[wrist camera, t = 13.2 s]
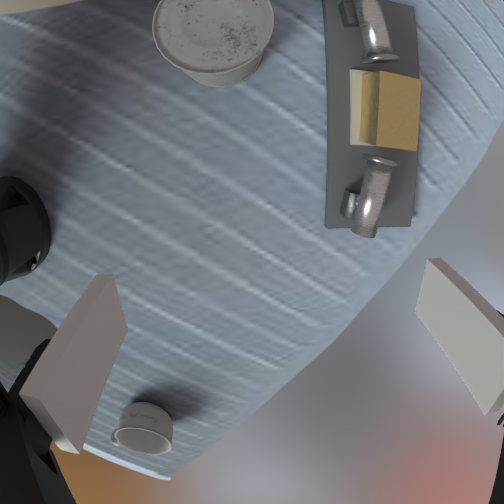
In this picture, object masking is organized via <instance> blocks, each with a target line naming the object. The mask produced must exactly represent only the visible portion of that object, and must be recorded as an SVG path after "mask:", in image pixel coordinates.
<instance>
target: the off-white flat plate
mask: <svg viewBox="0 0 504 504" xmlns="http://www.w3.org/2000/svg"><path fill="white" fill-rule="evenodd" d="M368 73H372V72H369V71H361V70H353V69H351V70H350V106H351V124H350V144H351V145H368V146H375V145H371V144H368V143H364V142H361V141H359V136H360V119H361V96H362V75H364V74H368Z"/></svg>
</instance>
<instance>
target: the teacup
mask: <svg viewBox="0 0 504 504" xmlns="http://www.w3.org/2000/svg"><path fill="white" fill-rule="evenodd" d="M172 433H173V424H172V420H171V418H170V416H169V415H168V414H167V413H166V412H165V411H164V410H163V409H162V408H160V407H159V406H157V405H155V404H152V403H149V402H137V403H133V404H130V405H128V406H126V407H125V408H124V409H123V410H122V412H121V415H120V418H119V421H118V425H117V429H116V430H115V431H114V432H113V433H112V435H111V442H112V444H114V445H115V446H122V445H123V446H124V447H126V448H128V449H130V450H132V451H135V452H138V453H142V454H148V455H161V454H165V453H168V452H169V451H170V450H171V449H172Z"/></svg>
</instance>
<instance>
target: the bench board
mask: <svg viewBox="0 0 504 504" xmlns="http://www.w3.org/2000/svg"><path fill="white" fill-rule="evenodd" d="M342 1H353V0H322V3H323V17H324V32H325V51H326V77H327V180H326V208H325V226H326V228H327V229H333V228H352V224H353V220H354V219H350V218H344V217H343V216H342V215H341V213H340V208H341V203H342V199H343V195H344V190H345V189H348V190H353V191H358V192H360V191H361V186H362V182H363V177H364V173H365V168H366V163H367V159H364V158H362V152H367V153H371V154H375V155H379V156H383V157H386V158H390V159H393V160H396V161H399V162H400V167H399V168H397V167H393V169H392V174H391V178H390V182H389V187H388V191H387V195H386V199H385V203H384V207H383V211H382V214H381V218H380V222H379V226H378V227H410V226H411V219H412V211H413V203H414V194H415V184H416V173H417V160H418V144H417V151H410V150H403V149H396V148H388V147H380V146H368V145H351V144H350V124H351V106H350V70H351V69H353V70H361V71H369V72H376V71H385V72H389V73H394V74H398V75H403V76H407V77H411V78H415V79H419V61H418V45H417V33H416V22H415V14H414V7H411V6H407V5H403V4H399V3H395V2H391V1H387V0H380V3H381V6H382V10H383V13H384V17H385V20H386V24H387V28H388V32H389V36H390V40H391V44H392V49H393V53H394V54H399V55H400V56H401V61H398V62H392V63H380V64H363V63H362V60H361V57H364V56H367V54H366V49H365V45H364V41H363V37H362V33H361V29H360V27H343V23H342V20H341V16H340V12H339V9H338V5H339V4H340V3H341V2H342ZM418 143H419V132H418Z"/></svg>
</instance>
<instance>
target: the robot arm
mask: <svg viewBox="0 0 504 504" xmlns="http://www.w3.org/2000/svg"><path fill="white" fill-rule="evenodd" d="M49 246H50V225H49V220H48V216H47V213H46V210H45V208H44V206H43V204H42V202H41V200H40V198H39V197H38V195H37V194H36V192H35V191H34V190H33V189H32V188H31V187H30V186H29V185H28V184H27V183H25V182H24V181H22V180H20V179H18V178H15V177H2V178H0V286H1V285H2V284H3V283H4V282H6V281H9V280H13V279H16V278H19V277H22V276H25V275H27V274H29V273H31V272H32V271H34V270H35V269H36V268H37V267H38V266H39V265H40V264H41V263H42V262H43V261H44V259H45V257H46V255H47V253H48V250H49ZM415 313H416V314H417V316H418V317H419V318H420V320H421V321H422V322H423V324H424V325H425V326H426V328H427V329H428V330H429V332H430V333H431V334H432V336H433V337H434V339H435V340H436V342H437V343H438V345H439V346H440V347H441V349H442V350H443V352H444V353H445V355H446V356H447V358H448V359H449V360H450V362H451V363H452V365H453V367H454V368H455V369H456V371H457V373H458V374H459V375H460V377H461V379H462V380H463V382H464V383H465V385H466V386H467V388H468V389H469V391H470V393H471V394H472V396H473V397H474V399H475V401H476V402H477V404H478V406H479V407H480V409H481V410H482V412H483V414H484V415H485V416H487V415H489V414H491V413H494V412H496V411H498V410H499V409H500V408H501V407H502V405H503V404H504V315H503V314H502V313H500V312H499V311H497V310H495V309H494V308H493V307H492V306H491V305H490V304H489V303H488V302H487V301H486V300H485V299H484V298H483V297H482V296H481V295H480V294H479V293H478V292H477V291H476V290H475V289H474V288H473V287H472V286H471V285H470V284H469V283H468V282H467V281H466V280H465V279H463V278H462V277H461V276H460V275H459V274H458V273H457V272H456V271H455V270H453V269H452V268H451V267H450V266H449V265H448V264H447V263H446V262H445V261H444V260H442V259H441V258H433V259H427V263H426V267H425V272H424V276H423V281H422V285H421V289H420V293H419V297H418V301H417V305H416V309H415ZM127 330H128V327H127V323H126V320H125V316H124V313H123V309H122V306H121V302H120V299H119V295H118V291H117V287H116V283H115V279H114V275H113V274H103V275H96V277H95V278H94V279H93V281H92V282H91V283H90V285H89V286H88V287H87V289H86V290H85V292H84V293H83V294H82V296H81V297H80V299H79V300H78V301H77V303H76V304H75V306H74V307H73V308H72V310H71V311H70V313H69V314H68V316H67V317H66V319H65V320H64V321H63V323H62V324H61V326H60V327H59V329H58V330H57V332H56V334H55V335H54V337H53V338H52V339H46V340H45V341H43V342H42V343H41V344H40V345H39V346H38V347H36V349H35V350H34V352H33V354H32V355H31V357H30V359H29V360H28V361H27V363H26V364H25V368H24V367H23V369H22V371H21V372H20V374H19V375H18V377H17V379H16V380H15V382H14V384H13V385H12V387H11V389H10V390H9V392H8V393H7V391H6V390H5V388H4V386H3V385H2V383H1V382H0V504H76V502H75V500H74V498H73V496H72V494H71V492H70V490H69V488H68V486H67V483H66V481H65V479H64V477H63V475H62V473H61V470H60V468H59V465H58V463H57V461H56V458H55V456H54V454H53V452H52V450H51V449H50V445H51V442H52V440H53V441H54V442H55V443H56V445H57V446H58V447H59V448H60V449H61V450H64V451H68V452H72V453H77V454H81V450H82V448H83V445H84V442H85V439H86V436H87V433H88V430H89V427H90V424H91V421H92V419H93V416H94V413H95V410H96V408H97V405H98V402H99V399H100V397H101V394H102V392H103V389H104V386H105V384H106V381H107V379H108V376H109V374H110V371H111V369H112V366H113V364H114V361H115V359H116V356H117V354H118V351H119V349H120V347H121V344H122V342H123V340H124V337H125V335H126V333H127ZM503 420H504V414H503V415H502V417H501V418H500V419H499V421H498V424H497V425H500V424H501V423H502V421H503ZM503 427H504V425H503ZM489 504H504V437H503V443H502V449H501V454H500V459H499V464H498V469H497V474H496V478H495V482H494V487H493V490H492V495H491V498H490V501H489Z"/></svg>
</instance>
